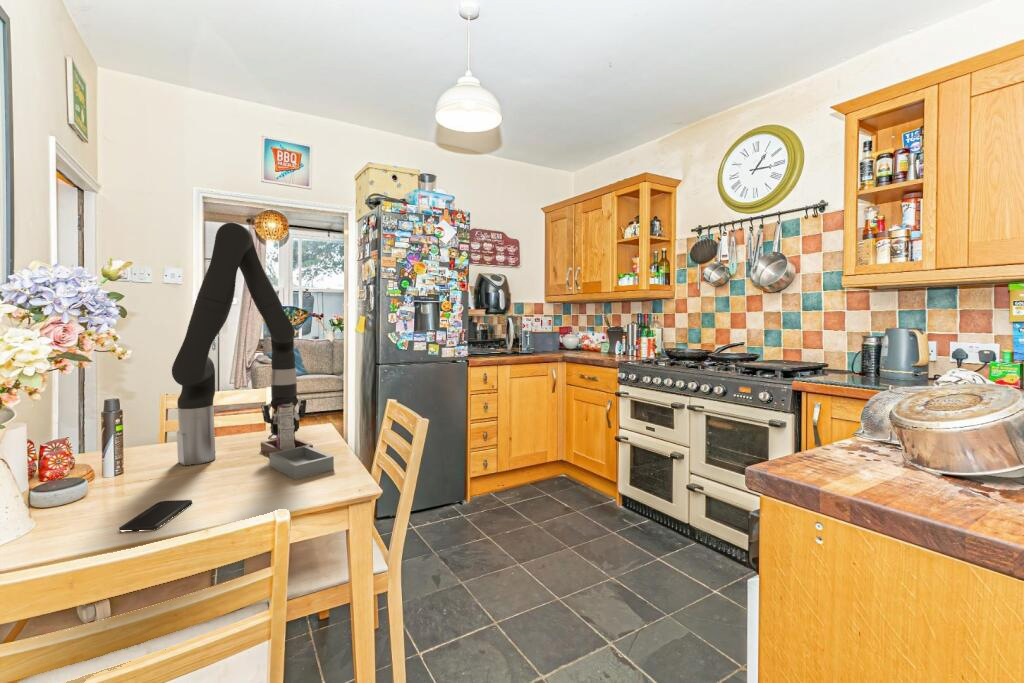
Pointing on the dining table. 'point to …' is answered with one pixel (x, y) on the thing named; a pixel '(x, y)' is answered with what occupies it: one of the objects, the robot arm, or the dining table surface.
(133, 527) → the phone
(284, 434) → the candy bar box
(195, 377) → the robot arm
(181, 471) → the dining table surface
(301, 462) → the grey tray
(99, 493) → the dining table surface
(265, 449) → the walnut collar
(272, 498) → the dining table surface
